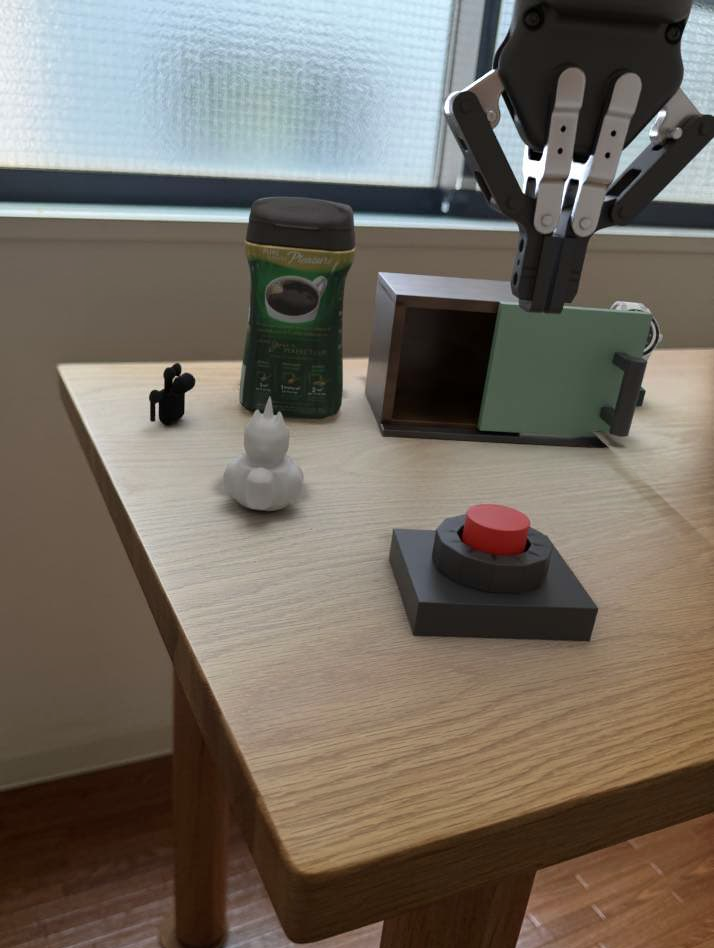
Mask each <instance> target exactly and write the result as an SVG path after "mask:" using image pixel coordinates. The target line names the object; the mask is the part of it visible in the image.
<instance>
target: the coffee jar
mask: <svg viewBox="0 0 714 948" xmlns="http://www.w3.org/2000/svg"><path fill="white" fill-rule="evenodd" d="M251 204H252V205H251V208H250V212H249V216H248V222H247V228H246V234H245V239H244V252H245V253H244V254H245V257H246V260H247V263H248V268H249V274H250V275H249V277H250V288H249V289H250V290H249V305H248V306H249V307H248V317H247V325H246V335H245V342H244V350H243V354H242V364H241V369H240V370H241V371H240V380H239V389H238V390H239V391H238V392H239V393H238V401H239V404H240V405H241V407H242V408H243V409H245V410H246V411H248V412H249V413H251V414H254V413H255V411H256V410H259V411H260V413H261V414H263V413H264V410H265V407H266V404H267V401H268V399H269V397H270V398H271V402H272V408H273V415H277V413H278V412H281V414H282V416H283V419H290V420H291V419H292V420H311V421H312V420H313V421H315V420H317V421H320V420H326V419H327V418H330V417H333V416H334V415H335V416H336V414H338V412H339V411H340V410H341V407H342V403H343V391H344V359H343V358H344V357H343V356H344V355H343V318H344V317H343V314H344V313H343V312H344V296H345V286H346V280H347V276H348V274H349V272H350V270H351V268H352V265H353V263H354V260H355V257H356V249H357V248H356V231H355V218H354V211H353V208H352V207H351V206H350V205H349V204H346V203H341V202H336V201H331V200H326V199H319V198H312V197H299V196H269V197H268V196H267V197H261V198H259V199H255V201H254V202H253V203H251Z"/></svg>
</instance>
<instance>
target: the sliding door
mask: <svg viewBox="0 0 714 948" xmlns="http://www.w3.org/2000/svg"><path fill="white" fill-rule="evenodd" d="M652 317H654V314H653V313H652V312H651V313H649V312H642V311H628V310H614V309H611V308H599V307H598V308H597V307H585V306H584V307H583V306H571V305H570V306H569V305H564V307H563V310H562V312H561V314H559V315H558V314H545V313H544V312H542V313H529V312H526V311H525V310H523V309H522V308H520V306H519V303H515V302H501V301H500V303H499V308H498V314H497V319H496V325H495V331H494V336H493V342H492V348H491V353H490V359H489V364H488V370H487V376H486V381H485V387H484V392H483V398H482V404H481V409H480V415H479V421H478V426H477V427H478V428H479V430H480V431H497V432H515V433H533V434H551V435H569V436H587V437H598V435H597V434H595V433H594V432H603V433H604V432H605V433H609V434H610V435H612V436H615V437H620V438H626V437H629V434H630V431H631V426H632V424H633V423H632V422H633V420H634V415H635V412H636V407H637V406H636V404H637V400H638V396H639V392H640V389H641V387H642V385H643V381H644V377H645V373H646V370H647V365H648V361H649V360H648V361H647V360H645V359H642V356H643V352H644V348H645V344H646V341H647V337H648V333H649V329H650V325H651V321H652Z"/></svg>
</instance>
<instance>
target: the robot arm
mask: <svg viewBox="0 0 714 948" xmlns="http://www.w3.org/2000/svg"><path fill="white" fill-rule="evenodd" d="M693 2H694V0H513V3H512V4H513V5H512V10H511V16H510V17H511V18H510V23H509V27H508V30H507V33H506V35H505V37H504V39H503V41H502V42H501V43H500V45H499V46H498V48H497V50H496V51H495V53H494V56H493V60H492V70H490V71H488V72H487V73H485V74H484V75H483V76H482V77H480V78H478V79H477V80H476V81H474V82H472V83H470V85H468V86H467V87H465V88H464V89H462V90H461V91H460V90H459V91H452V92H451V91H450V92H449V93H448V94H446V95H445V96H444V98H443V99H442V102H441V104H440V105H441V107H440V108H441V113H442V116H443V117H444V119H445V121H446V123H447V125H448V127H449V129H450V132H451V133H452V135H453V137H454V139H455V141H456V143H457V145H458V148H459V149H460V151H461V153H462V155H463V157H464V159H465V161H466V164H467V166H468V167H469V169H470V171H471V174H472V175H473V177H474V179H475V182H476V184H477V185H478V188H479V189H480V192H481V194H482V196H483V198H484V199H485V201H486V204H487V206H488V207H489V208H490V210H493V211H495V212H496V213H499V214H501V215H502V216H505V217H506V218H508V219H511V221H514V223H515V224H516V226H517V227H518V233H519V234H518V238H517V245H516V251H515V255H514V262H513V267H512V273H511V277H510V282H511V283H510V285H511V290H512V294H513V295H514V296H516V297H517V298H518V299H519V306H520V308H522V309H523V310H525V311H526V312H529V313H542V312H544V313H545V314H558V315H559V314H561V312H562V310H563V307H564V306H565V304H572V302H573V301H574V299H576V296H577V294H578V291H579V287H580V281H581V277H582V272H583V267H584V264H585V259H586V255H587V249H588V247H589V246H588V245H589V242H590V239H591V238H592V237H593V235H594V234H595V233H597V232H599V231H600V230H603V229H606V228H610V227H613V226H620V227H626V226H628V225H630V224H631V223H632V222H633V221H634V220H635V219H636V218H637V217H638V216H639V215H640V214H641V213H642V212H643V211H644V210H645V209H646V208H647V207H648V206H649V205H650V204H651V203H652V201H654V200H655V199H656V197H658V195H660V193H661V192H662V191H664V190H665V189H666V187H667V186H668V185H669V184H670V183H671V182H672V181H673V180H674V179H675V178H676V177H678V175H679V174H680V173H681V172H683V170H684V169H685V168H686V167H687V166H688V165H689V164H690V163H691V162H692V161H693V160H694V158H696V157H697V156H698V154H700V152H701V151H703V150H704V148H705V147H706V146H707V145H708V144H710V143H711V141H712V140H713V139H714V115H713V114H709V113H708V114H705V113H701V111H699V110H698V109H697V107H696V105H694V103H693V102H692V101H691V99H690V98H689V97H688V95H687V94H686V93H685V92H684V91H683V89H682V88H681V86H682V83H683V80H684V76H685V67H684V62H683V56H682V39H683V35H684V32H685V29H686V26H687V24H688V22H689V18H690V16H691V15H690V14H691V11H692V8H693ZM501 97H502V100H503V102H504V104H505V106H506V109H507V111H508V113H509V116H510V118H511V120H512V122H513V124H514V127H515V130H516V131H517V134H518V136H519V138H520V139H521V141H522V142H523V143H524V145H525V146H524V153H523V163H522V175H523V186H522V188H521V186H520V184H519V181H518V179H517V178H516V176H515V175H516V174H515V173H514V171H513V169H512V167H511V165H510V163H509V160H508V158H507V156H506V154H505V152H504V150H503V148H502V146H501V144H500V142H499V139H498V138H497V136H496V134H495V133H496V132H495V131H494V129H496V128H497V126H498V125H499V123H500V121H501V117H502V113H501V109H500V99H501ZM656 116H657V117H656ZM655 117H656V120H655V121H654V123H653V124H652V125H651V128H650V130H649V134H648V135H649V141H650V143H649V144H648V145H647V146H646V147H645V148H644V149H643V150H642V151H641V153H639V154H638V156H636V157H635V159H633V161H632V162H631V163H630V164H629V165H628V166H627V167H625V169H624V170H623V171H622V172H621V173H620V174H619V175H618V177H616V176H617V175H616V174H617V170H618V167H619V164H620V160H621V157H622V153H623V151H624V150H625V149H627V148H628V147H629V145H631V143H633V141H634V140H635V139H636V138H637V137H638V136H639V135H640V134H641V133H642V132H643V130H644V129H645V128H646V127H647V126H648V125H649V124H650V123H651V122H652V121H653V119H655Z"/></svg>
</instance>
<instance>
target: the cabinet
mask: <svg viewBox="0 0 714 948" xmlns="http://www.w3.org/2000/svg"><path fill="white" fill-rule="evenodd" d="M510 283H511V281H507V280H495V279H480V278H467V277H452V276H442V275H441V276H439V275H425V274H414V273H413V274H411V273H397V272H387V271H386V272H384V271H379V272H378V274H377V281H376V291H375V298H374V299H375V300H374V308H373V318H372V326H371V335H370V343H369V344H370V345H369V353H368V362H367V371H366V379H365V387H364V394H365V397H366V399H367V402H368V404H369V406H370V409H371V411H372V414H373V416H374V418H375V421H376V423H377V426H378V428H379V430H380V433H381V435H382V437H395V438H398V437H399V438H413V439H414V438H415V439H432V440H449V441H450V440H452V441H467V442H468V441H469V442H487V443H488V442H489V443H503V444H504V443H505V444H506V443H507V444H523V445H524V444H527V445H543V446H558V447H559V446H563V447H576V448H577V447H579V448H598V449H599V448H600V449H610V446H608V445H607V444H606V443H605V442H604V441H603V440H602V439H601V438H599V437H598V436H597V437H587V436H569V435H551V434H533V433H515V432H497V431H480V430H479V428H478V427H477V426H478V421H479V415H480V409H481V404H482V398H483V392H484V387H485V381H486V376H487V370H488V364H489V359H490V353H491V348H492V342H493V336H494V331H495V325H496V319H497V314H498V308H499V303H500V301H501V302H515V303H519V299H518V298H517V297H516V296H514V295H513V294H512V290H511V285H510Z"/></svg>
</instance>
